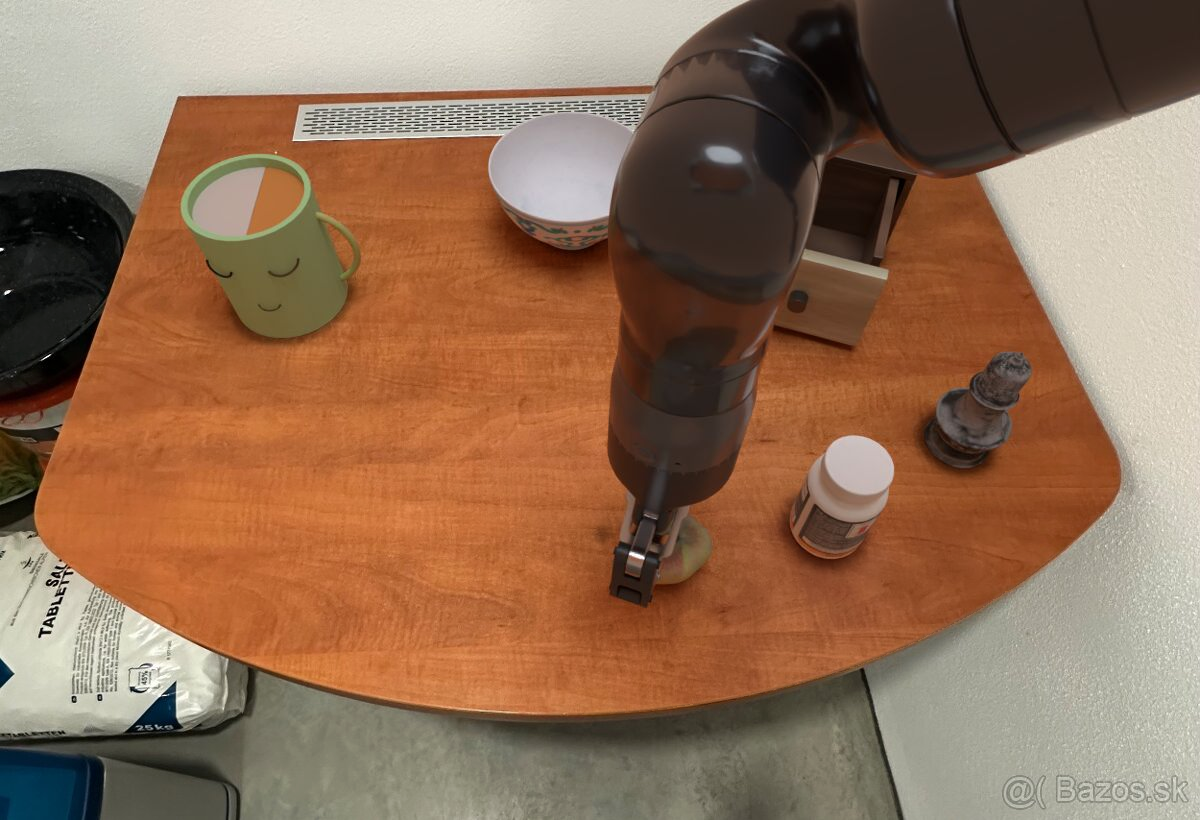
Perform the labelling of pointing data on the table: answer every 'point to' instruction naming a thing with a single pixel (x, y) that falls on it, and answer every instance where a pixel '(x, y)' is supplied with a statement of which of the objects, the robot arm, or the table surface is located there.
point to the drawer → (842, 256)
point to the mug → (269, 243)
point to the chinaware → (559, 176)
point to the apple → (686, 552)
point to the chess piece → (978, 412)
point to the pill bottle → (842, 497)
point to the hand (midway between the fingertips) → (655, 534)
